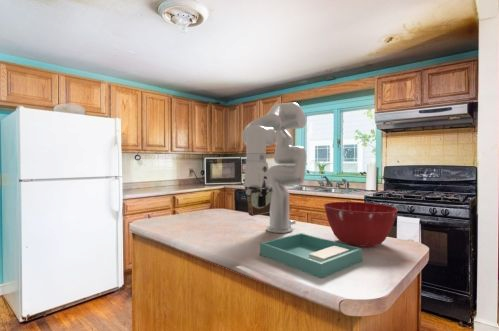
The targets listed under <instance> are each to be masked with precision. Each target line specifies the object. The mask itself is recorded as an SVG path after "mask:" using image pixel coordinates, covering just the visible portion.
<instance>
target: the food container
mask: <svg viewBox="0 0 499 331" xmlns="http://www.w3.org/2000/svg"><path fill="white" fill-rule="evenodd" d="M262 191H263V190H262ZM272 192H273V188H272V187H271V189H270V190H269V192H268V193H267V196H266V206H264V207H259V206H258V196H260V195H259V190H258V189H257V188H250V187H247V189H246V190H245V194H246V195H247V208H248V211H247V212H248V215H249V216H251V217H255V216H258V215H264V214H270V205H271V196H272Z"/></svg>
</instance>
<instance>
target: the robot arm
mask: <svg viewBox="0 0 499 331" xmlns="http://www.w3.org/2000/svg"><path fill="white" fill-rule="evenodd" d="M306 124H307V117H306V114H305V112H304V110H303V108H302V107H301V106H300V104H298V103H297V102H282V103H276V104H273V105H272V106H271V108H270V109H269V110H268V111H267V113H266V114H265V115H262V116H261V117H258V118H256V119H253V120H252V121H250V122H249V123H248V124H247V125H246V126H245V128H244V129H243V131H242V135H241V140H242V142H243V144H244V145H246V149H245V151H246V156H245V157H246V160H245V161H246V162H245V168H244V181H243V183H242V185H243V187H244V189H245V191H246V189H247V187H250V188H257V189H258V190H259V195H260V196H258V206H259V207H264V206H266V196H267V193H268V192H269V190H270V189H271V187H272V188H273V192H272V196H271V205H270V213H269V225H268V226H266V231H267V232H270V233H275V234H287V233H292V232H293V230H294V229H293V227H292V225H295V224H296V223H297V222H296V220H295V219H294V220H293V219H292V220H290V192H289V191H288V189H287V187H286V186H301V185H302V184H303V183H304V181H305V175H306V165H307V150H306V149H305V147H304V146H301V145H294V138H293V136H292V135H291V134H290V133H289V131H287V130H294V129H295V130H296V129H297V130H300V129H303V128H304V127H305V126H306ZM273 145H275V150H274V156H273V159H274V162H275V164H276V165H275V164H274V165H273V166H271V167H269V163H268V162H267V158H268V157H267V147H268V146H273ZM262 190H263V191H262Z"/></svg>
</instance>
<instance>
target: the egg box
mask: <svg viewBox="0 0 499 331" xmlns="http://www.w3.org/2000/svg"><path fill="white" fill-rule="evenodd" d="M347 252H349V249H345V248H342V247H338V246H332V247H328V248H325V249H322V250H319V251H316V252H313V253H310V254H309V256H308V258H309V259H312V260H315V261H318V262H323V261H326V260H328V259H331V258H334V257H336V256H339V255H342V254H344V253H347Z"/></svg>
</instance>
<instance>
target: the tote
mask: <svg viewBox="0 0 499 331" xmlns="http://www.w3.org/2000/svg"><path fill="white" fill-rule="evenodd" d="M332 246H338V247H342V248H345V249H349V252H347V253H344V254H342V255H339V256H336V257H334V258H331V259H328V260H326V261H323V262H318V261H315V260H312V259H309V258H308V256H309V254H310V253H313V252H316V251H319V250H322V249H325V248H328V247H332ZM259 256H260V257H261V256H262V257H265V258H267V259H271V260H272V261H273V260H274V261H276V262H278V263H281V264H283V265H286V266H288V267H291V268H294V269H295V270H298V271H301V272H304V273H307V274H308V275H311V276H315V277H317V278H319V279H323V278H326V277H328V276H330V275H333V274H335V273H337V272H340V271H343V270H344V269H346V268H349V267H351V266H353V265H356V264H359V263H360V262H362V261H363V248H359V247H354V246H350V245H346V244H343V243H342V242H337V241H334V240H330V239H325V238H321V237H318V236H315V235H311V234H306V233H303V232H299V233H296V234H292V235H288V236H284V237H280V238H276V239H272V240H268V241H263V242H260V243H259Z"/></svg>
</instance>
